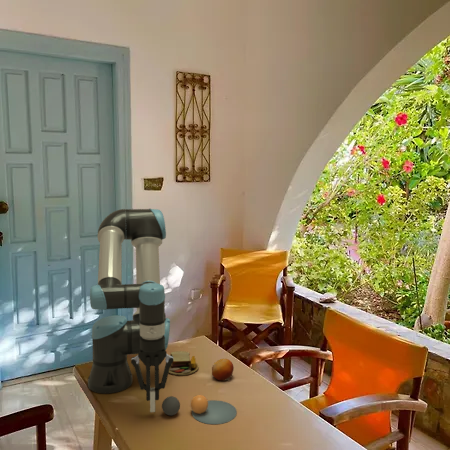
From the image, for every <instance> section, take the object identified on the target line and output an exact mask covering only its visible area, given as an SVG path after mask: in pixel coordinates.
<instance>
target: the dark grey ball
mask: <svg viewBox="0 0 450 450" xmlns="http://www.w3.org/2000/svg"><path fill="white" fill-rule="evenodd" d="M180 408H181V403H180V400H179V399H178V398H177V397H175V396H172V395H171V396H167V397H165V399H164V400H163V402H162V404H161V409H162V411H163V413H164V414H166V415H168V416H175V415H177V414H178V413H179V411H180Z"/></svg>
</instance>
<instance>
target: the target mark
mask: <svg viewBox="0 0 450 450" xmlns="http://www.w3.org/2000/svg"><path fill="white" fill-rule="evenodd" d="M207 401H208V408H207V410H206V411H205V412H204V413H201V414H197V413H195V412H193V411H192V410H191V416H192V417H193V418H194V420H195V421H198V422H200V423H202V424H207V425H222V424H227V423H228V422H231V421H232V420H234V419H235V418H236V416H237V412H238V411H237V409H236V407H235V406H234V405H232V404H231V403H230V402H226V401H223V400H217V399H216V400H213V399H211V400H207Z"/></svg>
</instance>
